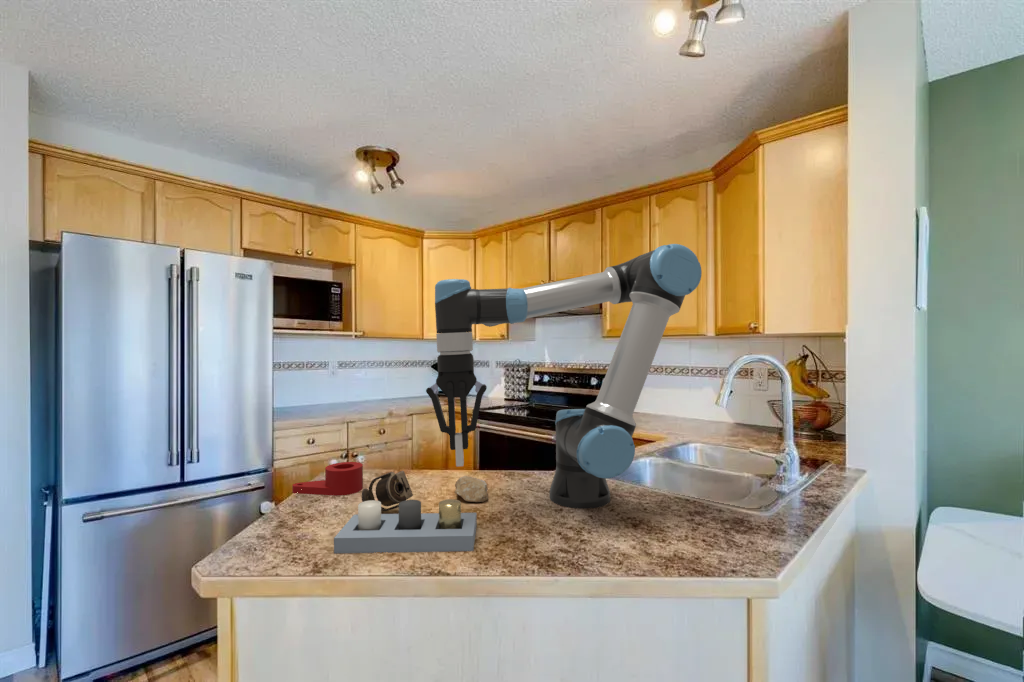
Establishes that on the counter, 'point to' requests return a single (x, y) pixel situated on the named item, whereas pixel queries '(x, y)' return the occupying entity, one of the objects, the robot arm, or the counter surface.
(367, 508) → the white rounded cylinder
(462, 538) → the grey slotted holder
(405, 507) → the dark gray cylinder
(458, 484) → the stone
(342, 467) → the lever
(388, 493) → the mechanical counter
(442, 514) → the gold cylinder
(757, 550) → the counter surface
